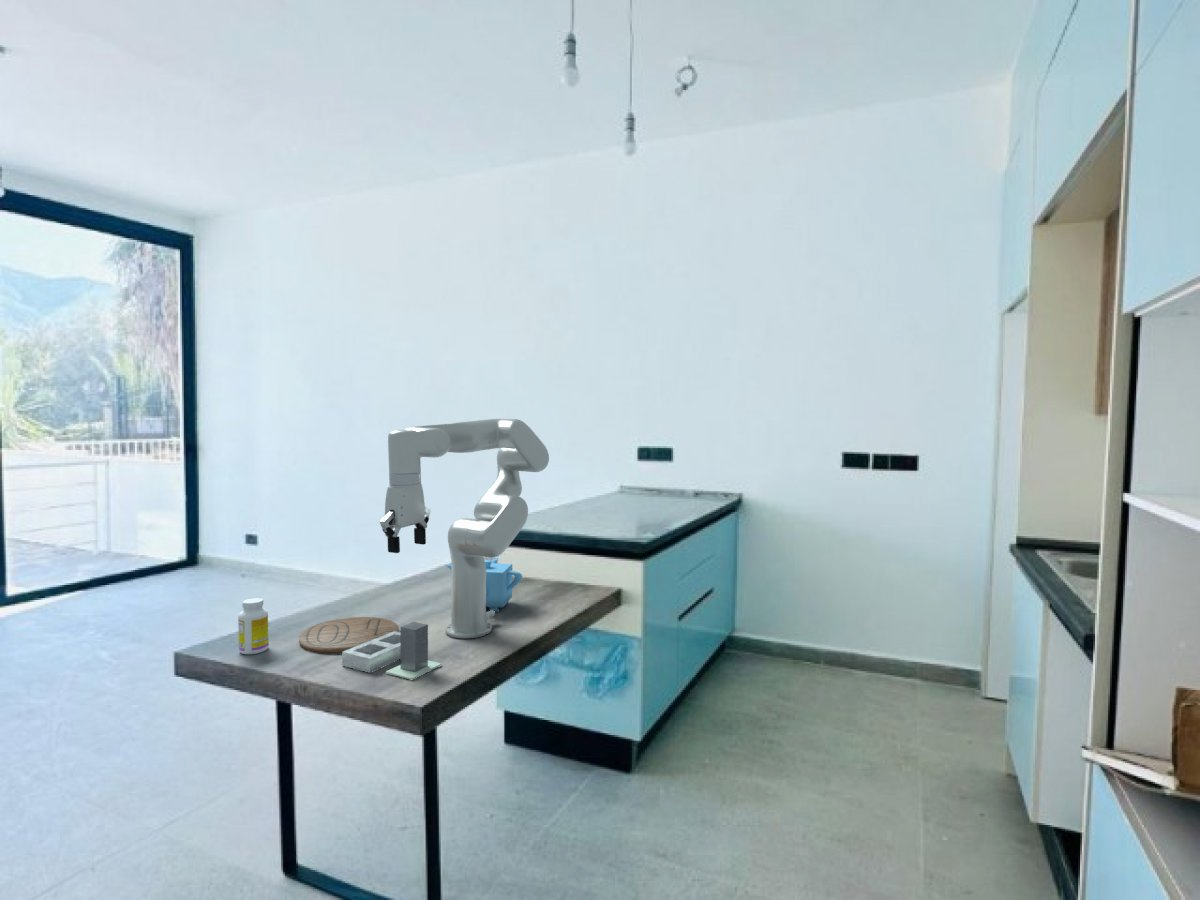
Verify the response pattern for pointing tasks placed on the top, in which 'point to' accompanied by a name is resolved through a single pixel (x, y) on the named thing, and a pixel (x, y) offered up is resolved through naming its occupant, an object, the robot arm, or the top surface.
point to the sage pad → (410, 674)
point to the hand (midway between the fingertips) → (407, 548)
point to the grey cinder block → (374, 653)
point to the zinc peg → (414, 646)
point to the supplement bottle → (253, 627)
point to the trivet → (344, 633)
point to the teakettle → (499, 583)
